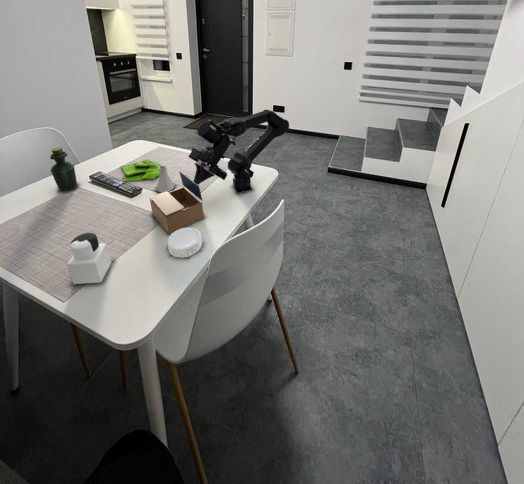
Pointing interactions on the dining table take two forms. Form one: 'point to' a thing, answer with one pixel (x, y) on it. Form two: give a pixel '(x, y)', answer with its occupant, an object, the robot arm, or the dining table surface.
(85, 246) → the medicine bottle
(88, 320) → the dining table surface
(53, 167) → the potion bottle
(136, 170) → the cloth
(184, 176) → the flap
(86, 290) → the dining table surface
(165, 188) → the flask
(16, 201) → the dining table surface
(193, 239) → the white round disc
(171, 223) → the carton
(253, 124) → the robot arm
